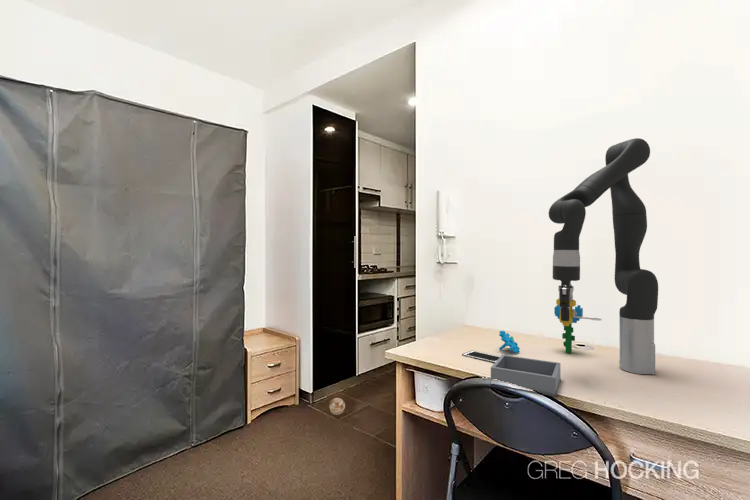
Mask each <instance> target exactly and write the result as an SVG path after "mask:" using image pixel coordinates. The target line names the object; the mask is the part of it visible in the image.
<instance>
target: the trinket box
mask: <svg viewBox="0 0 750 500" xmlns="http://www.w3.org/2000/svg"><path fill="white" fill-rule="evenodd" d="M328 407H329V410H330V413H331V414H332V415H336V416H337V415H341V414H342V413H344V411H345V409H346V403H345V401H344V400H343V399H342V398H340V397H335V398H333V399H332V400H330V401H329V405H328Z"/></svg>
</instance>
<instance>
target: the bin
mask: <svg viewBox="0 0 750 500" xmlns="http://www.w3.org/2000/svg"><path fill="white" fill-rule="evenodd" d="M499 356H500V358H499V359H498V360H497V361H496V362H495V363H492V364H493V365H492V366H490V380H491V379H497V380H500V381H504V382H509V383H512V384H516V385H518V386H522V387H526V388H530V389H533V390H535V391H537V392H539V393H542V394H541V395H544V396H550V397H555V398H556V397H557V394H558V390H559V386H560V382H561V362H557V361H556V362H555V361H548V360H544V359H543V360H542V359H536V358H530V357H529V358H528V357H523V356H515V355H508V354H507V355H506V354H501V355H499Z"/></svg>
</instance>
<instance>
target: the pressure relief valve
mask: <svg viewBox="0 0 750 500" xmlns="http://www.w3.org/2000/svg"><path fill="white" fill-rule="evenodd" d="M555 303H556V304H555V305H559V304H560V300H559V298H558V299H556V300H555ZM563 303H567V301H563ZM576 306H577V301H576V300H575V299H574V298H573V299H572V301H571V302H570V309H569V321H562V320H561V310H560V318H559V322H560V323H561V324H562V327H564V326H569V324H571V323H572V322H573V319H572V317H574V318H582V319H583V320H592V321H602V320H603V319H602V318H598V317H587V316H585V317H584V316H582V317H579V316H576V315H577V312H576V310H574V311H573V310H572V309H574V308H575V307H576ZM573 307H574V308H573ZM572 324H573V323H572Z"/></svg>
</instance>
